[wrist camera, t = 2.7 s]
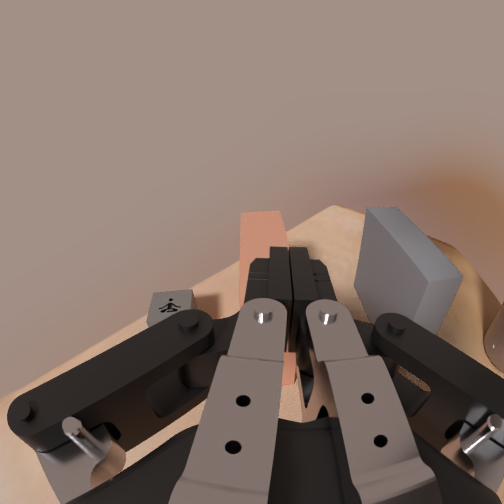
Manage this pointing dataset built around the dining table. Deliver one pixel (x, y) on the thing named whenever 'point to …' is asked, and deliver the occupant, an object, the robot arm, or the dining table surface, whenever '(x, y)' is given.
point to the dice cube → (169, 304)
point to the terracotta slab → (258, 246)
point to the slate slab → (403, 271)
